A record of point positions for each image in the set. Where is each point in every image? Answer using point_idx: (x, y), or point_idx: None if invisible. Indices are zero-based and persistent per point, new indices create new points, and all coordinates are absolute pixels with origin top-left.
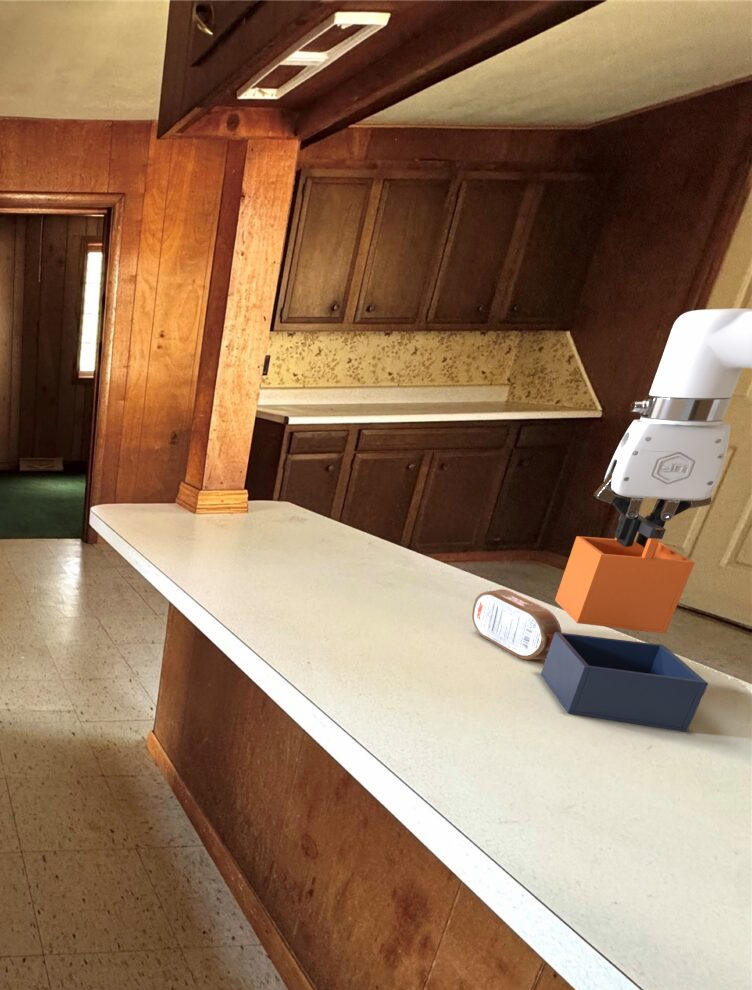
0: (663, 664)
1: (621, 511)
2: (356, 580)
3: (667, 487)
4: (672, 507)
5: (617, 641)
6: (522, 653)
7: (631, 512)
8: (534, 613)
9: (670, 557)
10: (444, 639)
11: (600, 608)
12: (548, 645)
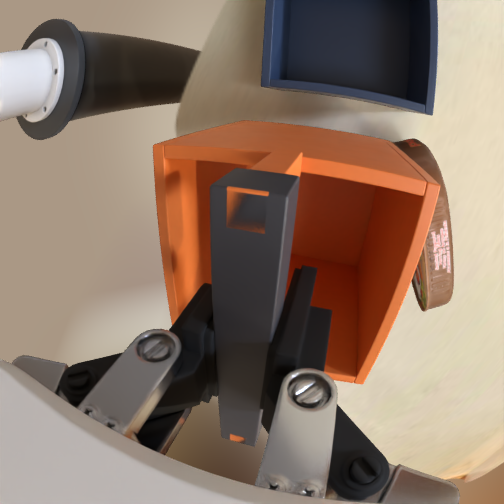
0: (276, 51)
1: (349, 419)
2: (454, 391)
3: None
4: (118, 385)
5: (336, 86)
6: None
7: (311, 405)
8: (443, 186)
9: (181, 254)
10: (479, 227)
11: (363, 139)
12: (409, 139)
